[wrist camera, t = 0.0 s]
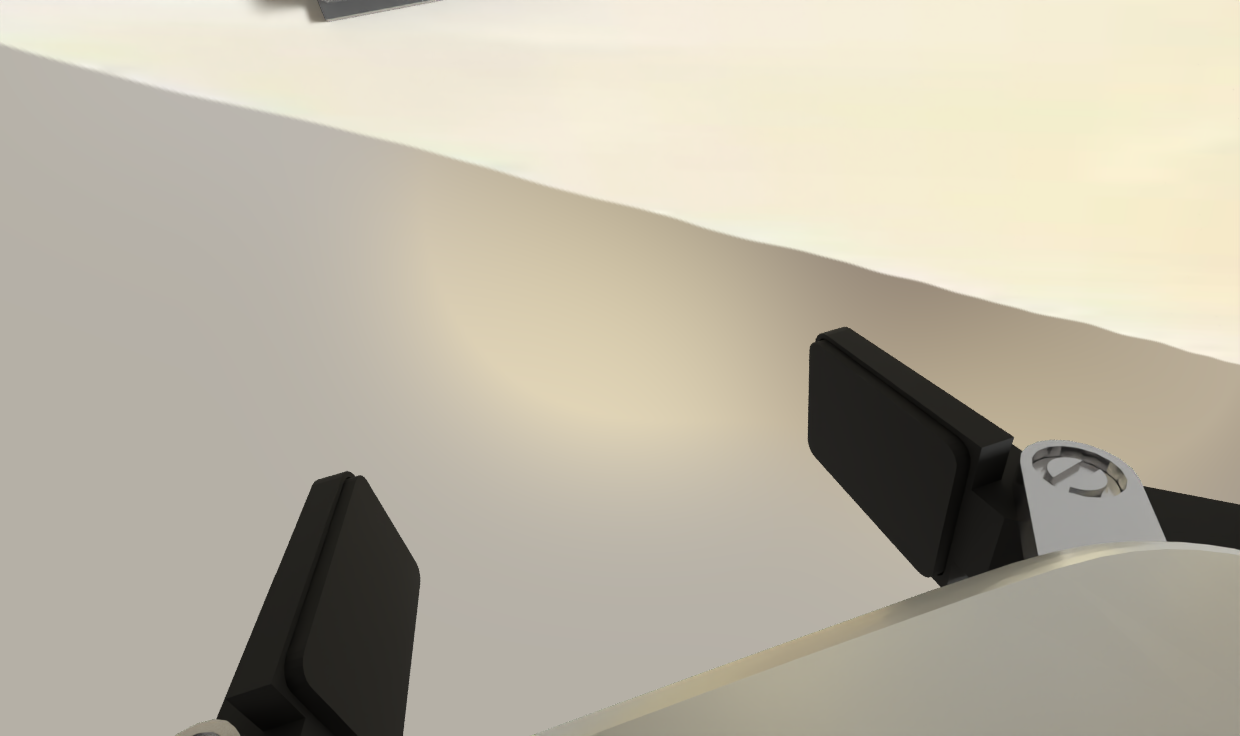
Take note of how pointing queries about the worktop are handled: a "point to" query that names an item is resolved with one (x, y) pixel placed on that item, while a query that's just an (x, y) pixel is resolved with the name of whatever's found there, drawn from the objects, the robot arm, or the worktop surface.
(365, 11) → the rail
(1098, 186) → the worktop surface
